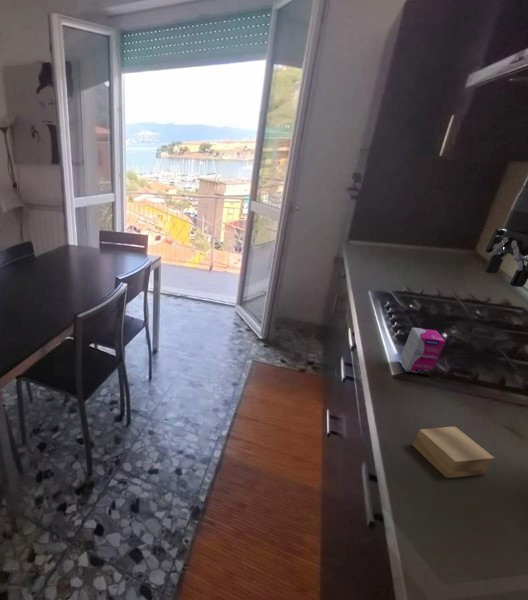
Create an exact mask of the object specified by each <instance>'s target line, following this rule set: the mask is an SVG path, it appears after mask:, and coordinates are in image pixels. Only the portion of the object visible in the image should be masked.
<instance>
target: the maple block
mask: <svg viewBox="0 0 528 600" xmlns="http://www.w3.org/2000/svg"><path fill="white" fill-rule="evenodd" d="M412 447H414V448H415V450H417V451H418V453H420V454H421V455H422V456H423V457H424V458H425V459H426V460H427V461H428V462H429V463H430V464H431V465H432V466H433V467H434V468H435V469H436V470H437V471H438V472H439V473H440V474H441V475H442V476H443V477H445V478H446V479H453V478H462V477H472V476H473V477H474V476H482V475H483V476H484V475H486V473H487V471H488V469H489V468H490V466H491V465H492V463H493V461H494V460H495V456H493V455H492V454H491V453H489V452H488V451H487V450H486V449H484V448H483V447H482V446H480V445H479V444H478V443H477V442H476V441H474V440H473V439H472V438H470V437H469V436H468V435H467V434H466V433H464V432H463V431H462V430H461V429H459V428H458V427H457V426H456V425H454V426H443V427H441V426H440V427H432V428H421V429H419V430H418V432H417V434H416V436H415V438H414V441H413V443H412Z"/></svg>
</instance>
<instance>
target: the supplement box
mask: <svg viewBox="0 0 528 600" xmlns="http://www.w3.org/2000/svg"><path fill="white" fill-rule="evenodd" d="M445 344H446V339H444V337H443V336H442V335H441V334H440V333H439V332H438V331H437V330H435V329H426V328H420V327H411V329H410V332H409V335H408V337H407V339H406V341H405V344H404V347H403V349H402V352H401V355H400V357H399V359H401V361H402V362H403V364H404V366H405V368H406V369H407V370H414V371H420V370H425V369H430V370H432V369H433V370H434V368H435V366H436V363H437V362H438V359H439V357H440V355H441V353H442V350H443V348H444V346H445ZM433 370H432V371H433Z"/></svg>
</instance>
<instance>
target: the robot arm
mask: <svg viewBox="0 0 528 600" xmlns="http://www.w3.org/2000/svg"><path fill="white" fill-rule="evenodd" d="M524 179H525V180H524V182H523V184H522V186H521V188H520V189H519V191H518V193H517V194H516V195H515V198H514V200H513V203H512V205H511V207H510V209H509V211H508V214H507V216H506V218H505V220H504V223H503V225H502V228H496V229H494V231H493V233H492V235H491V237H490V240H489V242H488V243H487V245H486V248H485V251H484V252H485V253H488V256H489V259H488V262H487V265H486V267H485V269H484V272H485V273H486V274H493V275H494V274H497V273H498V272H499V270H500V267H502V263H503V262H504V258H505V257H506V256H507V255H509V254H510V255H511V256H512V257H513V260H514V261H515V262H516V266H517V269H515V271H514V274H513V276H512V278H511V280H510V282H509V285H510V286H512V287H515V288H516V287H517V288H522V287H524V286H525V285H526V283H527V281H528V174H527V175H526V178H524ZM525 262H526V263H525Z"/></svg>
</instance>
